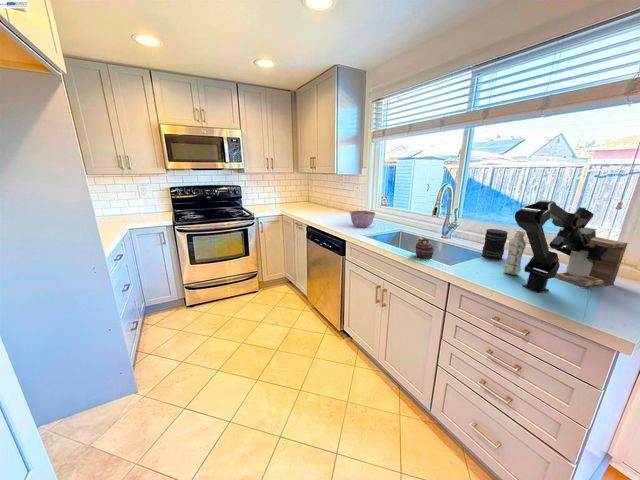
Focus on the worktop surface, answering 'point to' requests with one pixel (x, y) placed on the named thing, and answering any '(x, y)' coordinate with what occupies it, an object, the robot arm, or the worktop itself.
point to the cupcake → (424, 249)
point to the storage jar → (494, 244)
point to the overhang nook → (599, 266)
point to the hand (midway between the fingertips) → (583, 259)
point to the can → (579, 264)
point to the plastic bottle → (515, 253)
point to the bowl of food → (362, 218)
